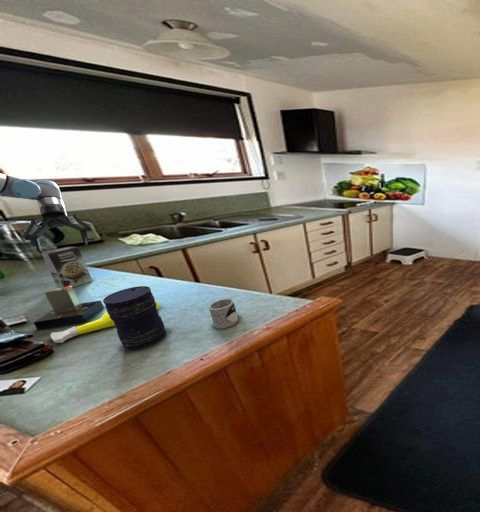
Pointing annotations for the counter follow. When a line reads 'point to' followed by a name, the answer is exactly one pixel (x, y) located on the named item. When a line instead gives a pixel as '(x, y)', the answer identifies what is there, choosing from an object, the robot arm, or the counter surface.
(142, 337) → the storage jar
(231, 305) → the mug
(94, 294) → the counter surface
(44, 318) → the dispenser panel
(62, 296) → the small grey box
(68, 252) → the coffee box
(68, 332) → the yellow flared piece
